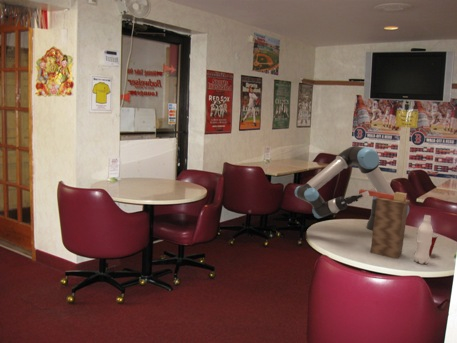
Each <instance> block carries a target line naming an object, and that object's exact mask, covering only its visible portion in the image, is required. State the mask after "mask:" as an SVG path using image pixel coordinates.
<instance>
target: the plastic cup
mask: <svg viewBox="0 0 457 343" xmlns="http://www.w3.org/2000/svg"><path fill="white" fill-rule="evenodd" d="M416 234H417V236H418V231H417V232H416ZM438 237H439V235H438V234H435V233H433V235H432V244H431V246H430V250H429V257H431V256H432V252H433V249H434V246H435V244H436V241H437V239H438Z"/></svg>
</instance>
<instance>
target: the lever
mask: <svg viewBox="0 0 457 343" xmlns="http://www.w3.org/2000/svg"><path fill="white" fill-rule="evenodd" d="M369 190H370V189H369ZM369 190H368V189H364V188H363V189H362V188H360V189H359V190H358V194H360V193H363V192H366V191H368V193H369V196H368V197H372V198H373V197H379V198H384V199H390V200H394V201H400V202H404V201H406V200H407V195H408V193H407V192H400V191H395V192H394V194H387V193H381V192H375V191H369Z"/></svg>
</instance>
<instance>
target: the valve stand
mask: <svg viewBox="0 0 457 343" xmlns="http://www.w3.org/2000/svg"><path fill="white" fill-rule="evenodd" d="M376 201H377V203H376V211H375V219H374V227H373V230H372V238H371V244H370V245H371V247H370V253H371V254H375V255H379V256H385V257H389V258H392V259H399V257H401V255H402V254H403V246H404V238H405V233H406V232H405V231H406V226H407V225H406V223H407V217H408V215H407V210H408V205H409V204H410V202H411V200H410V199H406V201H404V202H400V201H394V200H390V199H384V198H379V197H378V198H376Z"/></svg>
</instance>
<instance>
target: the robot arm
mask: <svg viewBox="0 0 457 343" xmlns="http://www.w3.org/2000/svg"><path fill="white" fill-rule="evenodd" d="M351 166H355V167H358V169H359V171H360V172H361V173H362V174H364V175H366V177H367V178H368V181H369V182H370V184H371V185H372V186H373V188H371V189H369V191H375V192H381V193H387V194H394V193H395V192H394V190H393V189H392V188H393V187H391V185H390V183H389V181H388V180H387V178H386V177H385V175H384V173H383V172H382V170H381V168H380V155H379V154H378V152H377V151H376V150H375V149H373V148H370V147H365V146H359V145H354V146H353V145H352V146H349V147H348V148H346V149H344V150H343V151H341V152H340V153H338V154H337V156H335V159H334V160H333V161H331V162H330V163H329V164H328V165H326V167H324V168H323V169H322V170H321V171H320V172H318V173H317V174H316V175H314V176H313V177H311V179H309V180H308V181H307V182H306V183H305V184H303V185H298V186H297V187H296V188H295V189H294V195H295V197H296V198H298V199H299V200H302V201H304V202H306V203H308V204H310V205H311V206H312V210H311V212H312V214H313V216H314V218H316V219H321V218H325V217H327V216H330V215H333V214H337V213H338V212H340V211H344V210H346V209H347V208H348V205H350V204H352V203H354V202H359V200H361V199H363V198H366V197H367V198H368V197H370V196H369V193H368V191H366V192H363V193H360V194H359V193H358V194H356V195H353V194H352V195H350V196H348V197H347V196H346V197H344V196H340V195H339V197H336V198H333V199H330V200H328V201H325V199H324V198H323V197H322V195H321V194H320V193H319V189H321V188H322V187H323V186H324V185H326V184H327V183H328V182H330V181H331V180H332V179H333V178H334V177H336V176H337V175H338V174H339V173H340V172H342V171H343V170H344V169H348V168H350V167H351ZM376 198H378V197H373V196H372V202H371V211H370V217H369V218H368V221H367V222H366V228H367V229H369V230H371V231H373V227H374V219H375V211H376V203H377V201H376ZM409 212H410V206H409V204H408V210H407V216H408V215H409Z"/></svg>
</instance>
